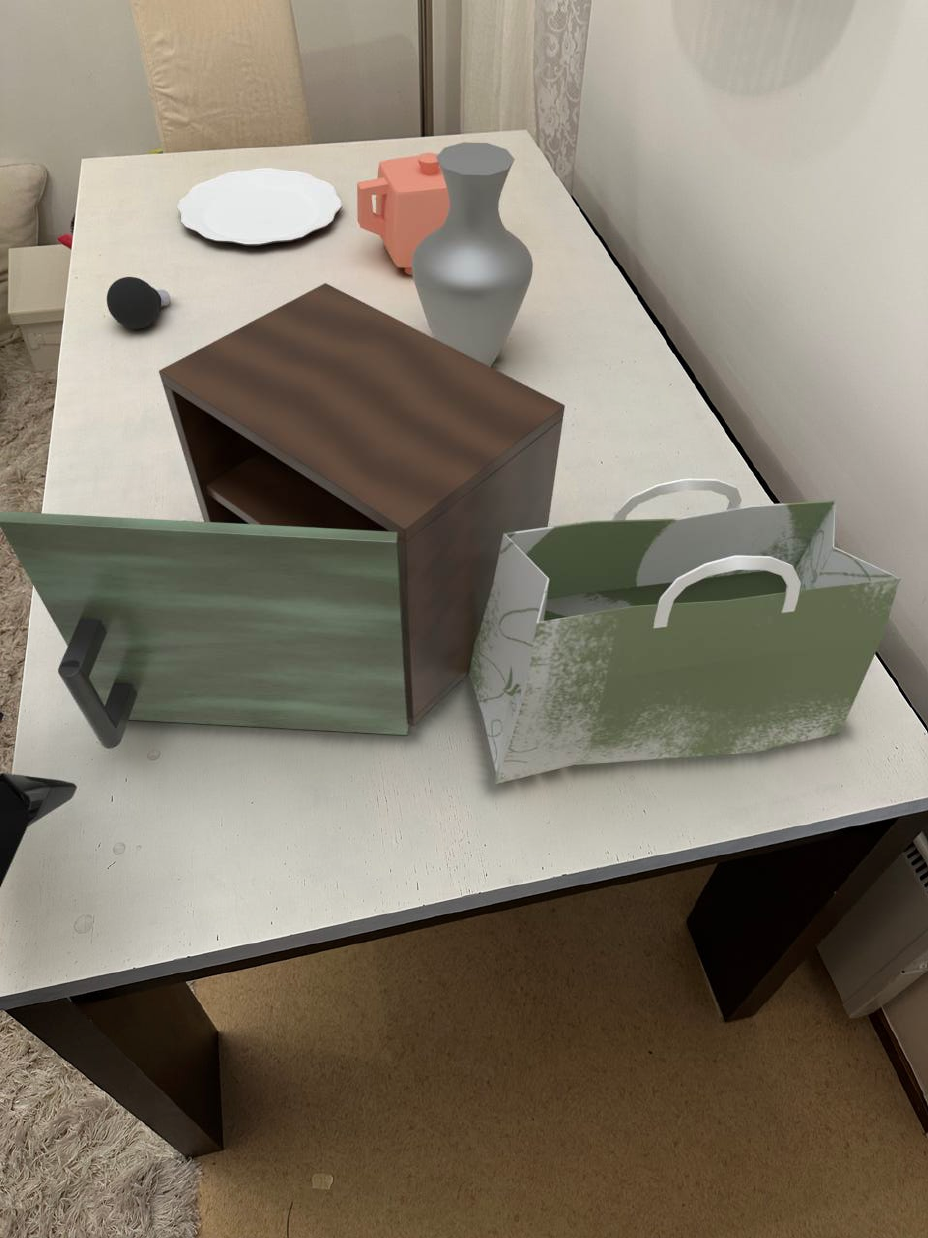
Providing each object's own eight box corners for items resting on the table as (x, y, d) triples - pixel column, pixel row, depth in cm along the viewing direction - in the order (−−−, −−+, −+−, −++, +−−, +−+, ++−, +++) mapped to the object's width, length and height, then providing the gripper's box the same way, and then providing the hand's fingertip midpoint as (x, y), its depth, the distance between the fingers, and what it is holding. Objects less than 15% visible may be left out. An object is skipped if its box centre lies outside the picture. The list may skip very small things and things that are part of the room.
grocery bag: (779, 621, 84) (871, 434, 66) (842, 741, 75) (969, 564, 57) (461, 662, 80) (468, 475, 62) (490, 794, 71) (507, 621, 53)
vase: (545, 353, 111) (567, 152, 92) (482, 406, 104) (492, 200, 84) (457, 316, 116) (461, 119, 97) (391, 364, 109) (381, 161, 89)
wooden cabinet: (413, 726, 74) (405, 529, 56) (220, 578, 85) (158, 370, 66) (536, 609, 83) (565, 404, 64) (348, 488, 94) (325, 282, 75)
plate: (217, 172, 143) (215, 160, 141) (360, 189, 140) (359, 177, 139) (154, 243, 127) (150, 230, 126) (313, 263, 124) (312, 251, 123)
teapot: (488, 226, 133) (493, 129, 122) (516, 265, 125) (523, 166, 114) (352, 244, 128) (344, 145, 117) (372, 286, 121) (365, 184, 110)
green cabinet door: (401, 790, 70) (387, 604, 52) (88, 772, 71) (-38, 581, 52) (408, 725, 74) (398, 531, 56) (111, 709, 75) (2, 510, 56)
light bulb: (181, 271, 114) (130, 278, 106) (190, 321, 117) (141, 332, 108) (143, 272, 116) (90, 279, 108) (153, 321, 119) (102, 331, 111)
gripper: (-325, 804, 52) (-70, 771, 66) (-184, 1013, 44) (69, 926, 59) (-272, 649, 50) (-19, 649, 64) (-114, 842, 42) (132, 794, 56)
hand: (36, 753), depth 61 cm, fingers open, 9 cm apart
